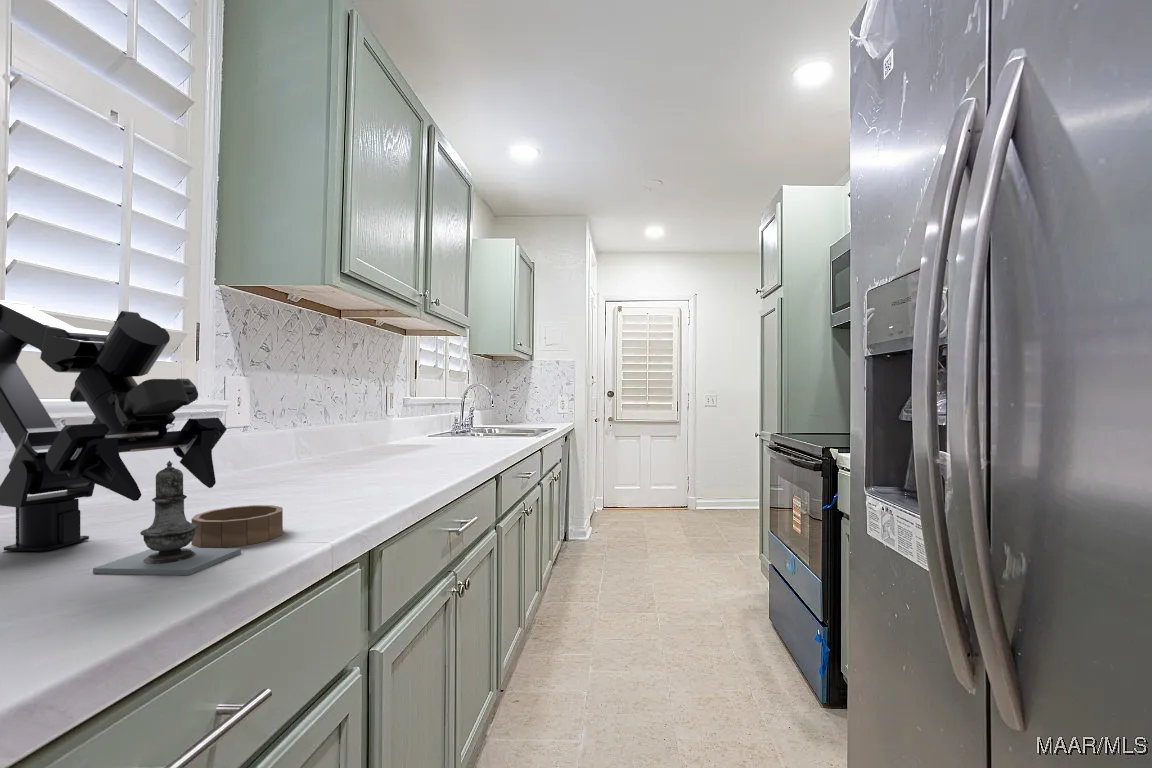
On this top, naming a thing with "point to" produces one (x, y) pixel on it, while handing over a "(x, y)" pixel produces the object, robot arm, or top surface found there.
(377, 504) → the top surface
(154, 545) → the salt shaker
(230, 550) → the mat
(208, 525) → the ring
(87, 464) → the robot arm
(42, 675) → the top surface
